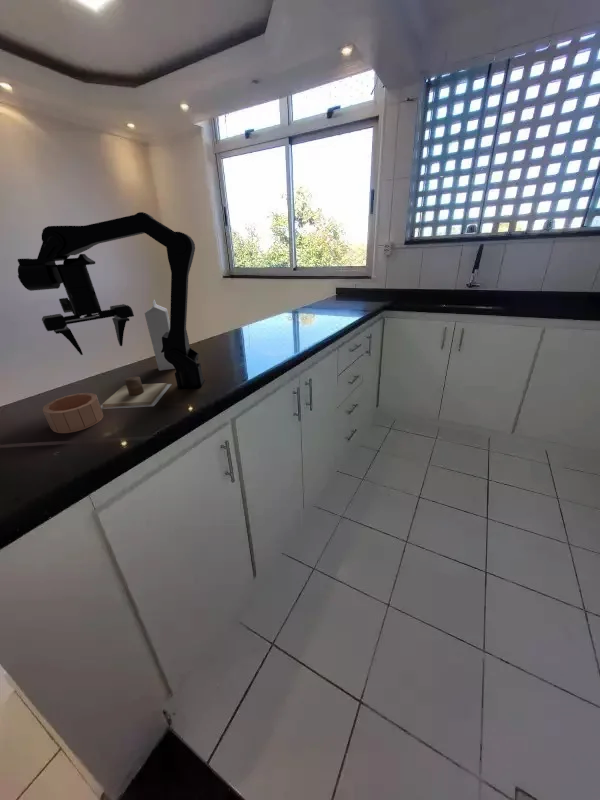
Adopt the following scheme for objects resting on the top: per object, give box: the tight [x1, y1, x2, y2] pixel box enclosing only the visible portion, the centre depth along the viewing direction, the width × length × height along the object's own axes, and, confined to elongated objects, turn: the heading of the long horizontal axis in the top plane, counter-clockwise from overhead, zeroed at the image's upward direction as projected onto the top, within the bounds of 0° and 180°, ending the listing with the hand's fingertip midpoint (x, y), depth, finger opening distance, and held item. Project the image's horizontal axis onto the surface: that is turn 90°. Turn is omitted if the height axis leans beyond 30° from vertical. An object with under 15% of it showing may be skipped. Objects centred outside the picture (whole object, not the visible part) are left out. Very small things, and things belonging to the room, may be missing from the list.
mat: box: [100, 383, 172, 410], centre depth 83 cm, size 14×14×1 cm
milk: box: [144, 299, 175, 371], centre depth 99 cm, size 6×6×22 cm
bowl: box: [42, 392, 104, 434], centre depth 70 cm, size 10×10×6 cm
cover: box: [101, 376, 168, 407], centre depth 82 cm, size 12×12×5 cm
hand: (102, 350), depth 81 cm, fingers open, 9 cm apart
